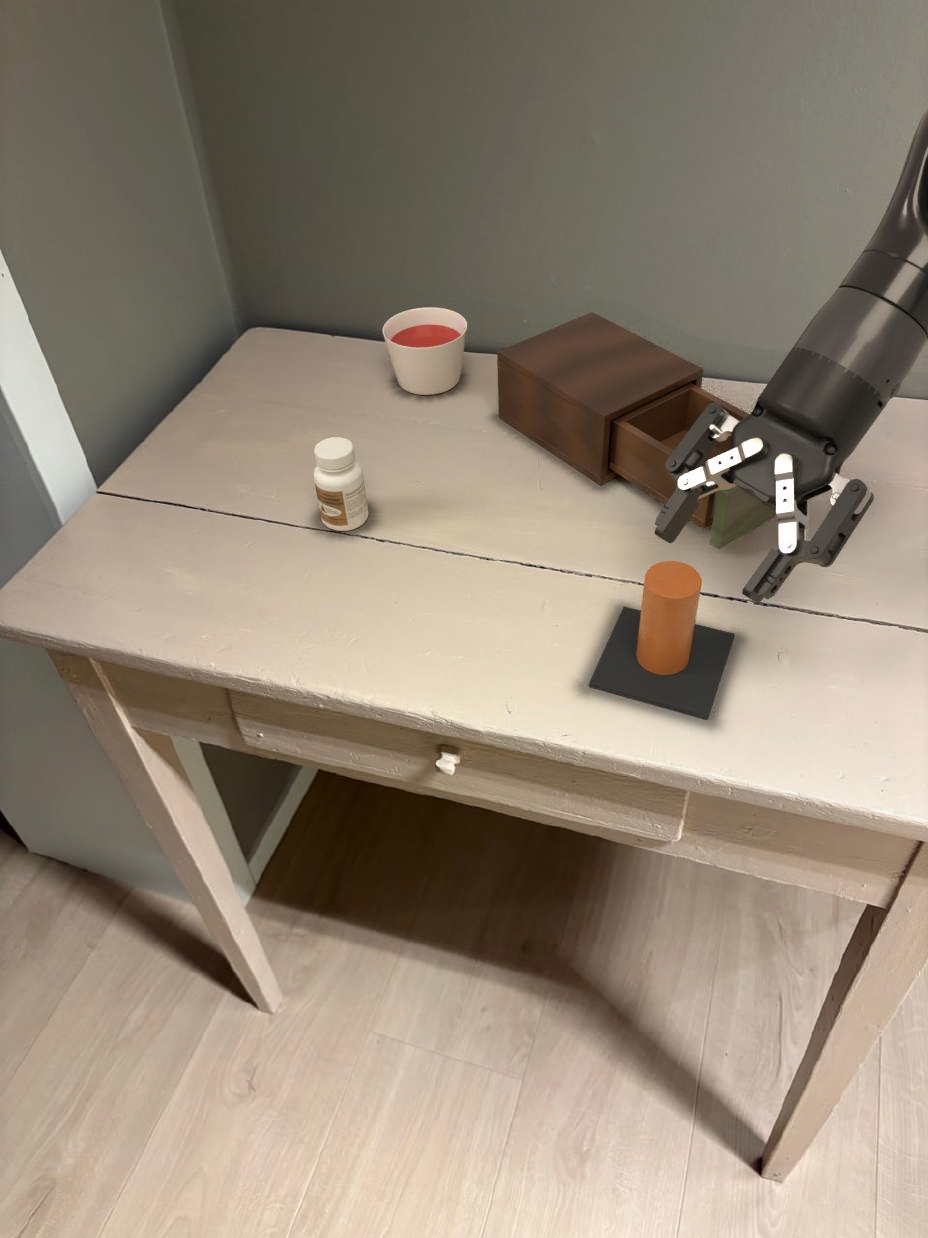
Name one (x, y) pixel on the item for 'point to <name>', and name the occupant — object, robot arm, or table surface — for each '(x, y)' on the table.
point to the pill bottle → (339, 485)
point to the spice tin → (668, 617)
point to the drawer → (652, 440)
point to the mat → (673, 692)
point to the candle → (426, 348)
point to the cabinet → (584, 387)
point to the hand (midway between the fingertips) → (704, 567)
